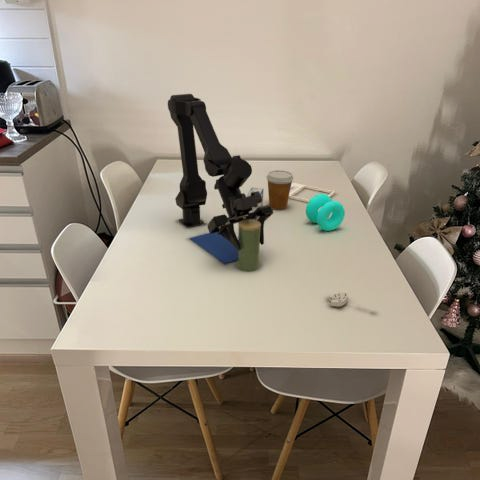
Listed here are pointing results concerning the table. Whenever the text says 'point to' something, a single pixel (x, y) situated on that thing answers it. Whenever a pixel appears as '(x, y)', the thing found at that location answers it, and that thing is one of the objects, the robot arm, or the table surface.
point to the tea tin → (249, 244)
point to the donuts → (325, 212)
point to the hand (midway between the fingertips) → (251, 247)
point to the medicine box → (260, 194)
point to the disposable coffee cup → (279, 188)
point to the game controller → (339, 299)
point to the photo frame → (297, 187)
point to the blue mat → (217, 247)
